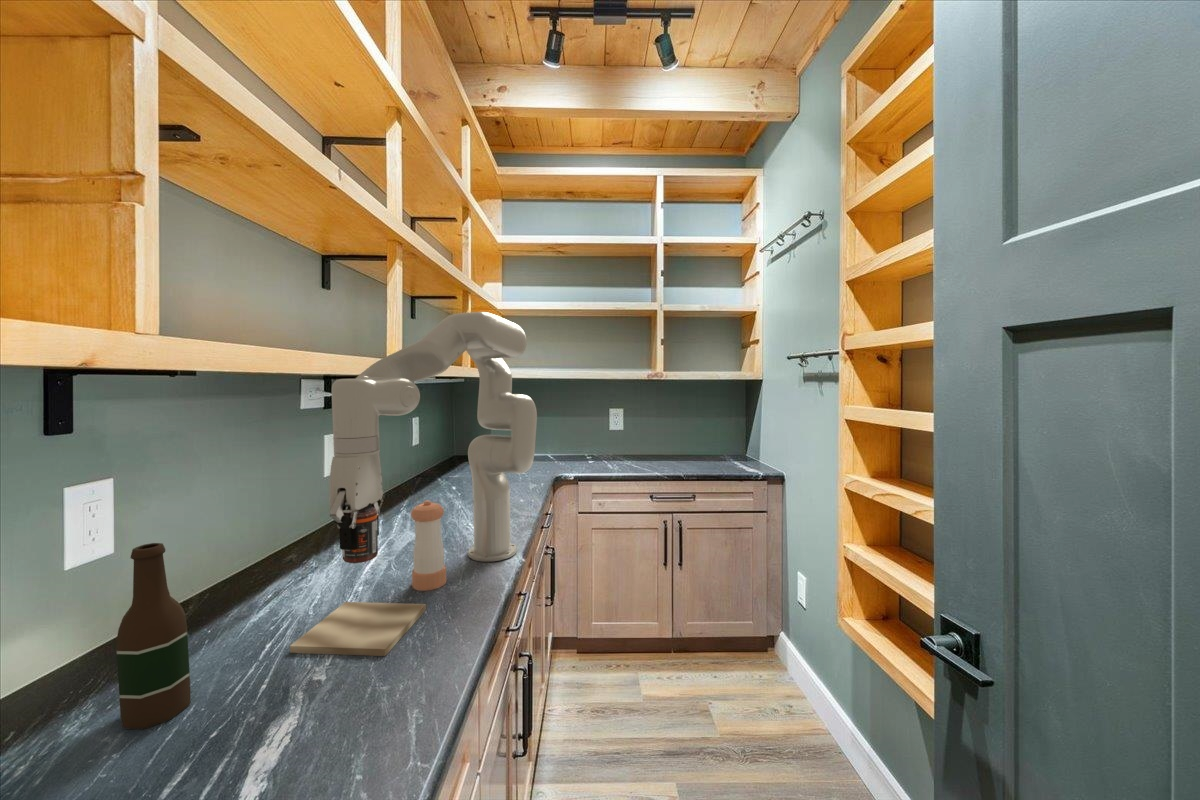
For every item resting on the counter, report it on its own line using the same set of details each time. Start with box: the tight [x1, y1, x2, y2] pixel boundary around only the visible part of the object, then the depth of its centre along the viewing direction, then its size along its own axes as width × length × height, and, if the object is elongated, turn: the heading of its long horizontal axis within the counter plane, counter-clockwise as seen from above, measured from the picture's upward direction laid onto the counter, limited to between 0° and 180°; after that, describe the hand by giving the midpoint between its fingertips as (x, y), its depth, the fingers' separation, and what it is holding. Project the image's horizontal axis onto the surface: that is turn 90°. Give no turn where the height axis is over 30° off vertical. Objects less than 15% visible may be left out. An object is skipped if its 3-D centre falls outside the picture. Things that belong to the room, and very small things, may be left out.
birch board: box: [289, 601, 427, 657], centre depth 90 cm, size 16×17×1 cm
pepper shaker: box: [410, 499, 447, 592], centre depth 109 cm, size 7×7×19 cm
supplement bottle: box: [341, 503, 379, 564], centre depth 89 cm, size 6×6×11 cm
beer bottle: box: [116, 542, 192, 730], centre depth 68 cm, size 8×8×24 cm
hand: (360, 541), depth 89 cm, fingers closed on supplement bottle, 6 cm apart
